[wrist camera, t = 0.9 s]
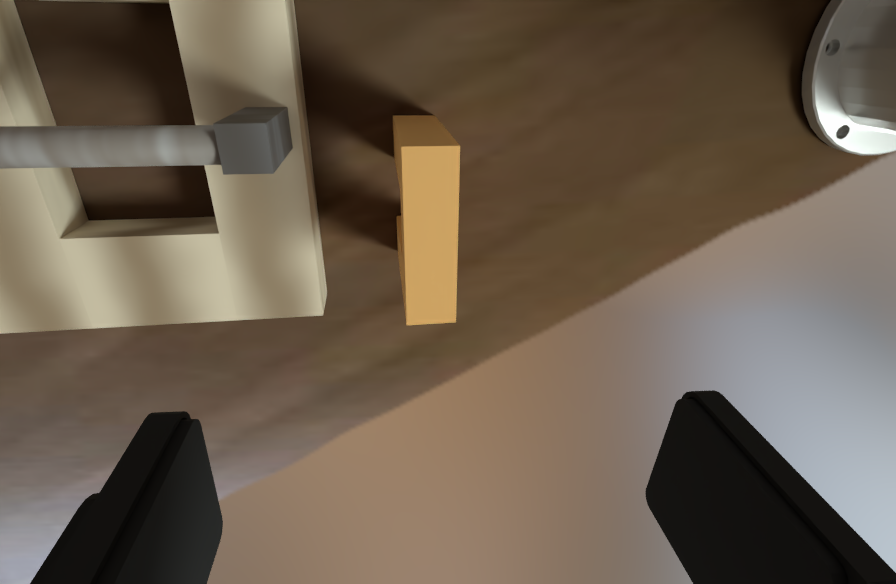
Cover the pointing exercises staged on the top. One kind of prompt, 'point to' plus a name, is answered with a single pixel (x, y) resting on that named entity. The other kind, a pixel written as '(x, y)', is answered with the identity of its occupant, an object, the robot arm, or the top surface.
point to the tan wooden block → (427, 217)
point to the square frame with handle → (207, 143)
